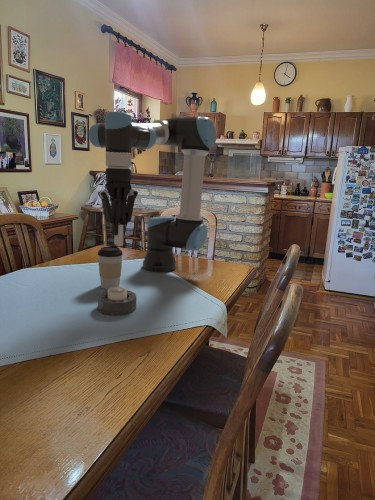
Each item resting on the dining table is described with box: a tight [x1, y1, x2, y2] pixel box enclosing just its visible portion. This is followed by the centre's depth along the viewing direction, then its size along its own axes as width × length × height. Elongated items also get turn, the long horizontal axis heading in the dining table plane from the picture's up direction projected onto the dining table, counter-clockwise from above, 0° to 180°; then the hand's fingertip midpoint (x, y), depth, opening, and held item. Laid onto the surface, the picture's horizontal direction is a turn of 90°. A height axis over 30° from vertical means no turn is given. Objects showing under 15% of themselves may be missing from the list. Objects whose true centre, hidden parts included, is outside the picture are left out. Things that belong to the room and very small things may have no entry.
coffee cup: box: [97, 245, 123, 290], centre depth 133 cm, size 9×9×15 cm
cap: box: [107, 286, 128, 300], centre depth 114 cm, size 6×6×6 cm
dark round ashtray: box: [97, 289, 137, 316], centre depth 114 cm, size 12×12×4 cm
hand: (118, 244), depth 111 cm, fingers closed
